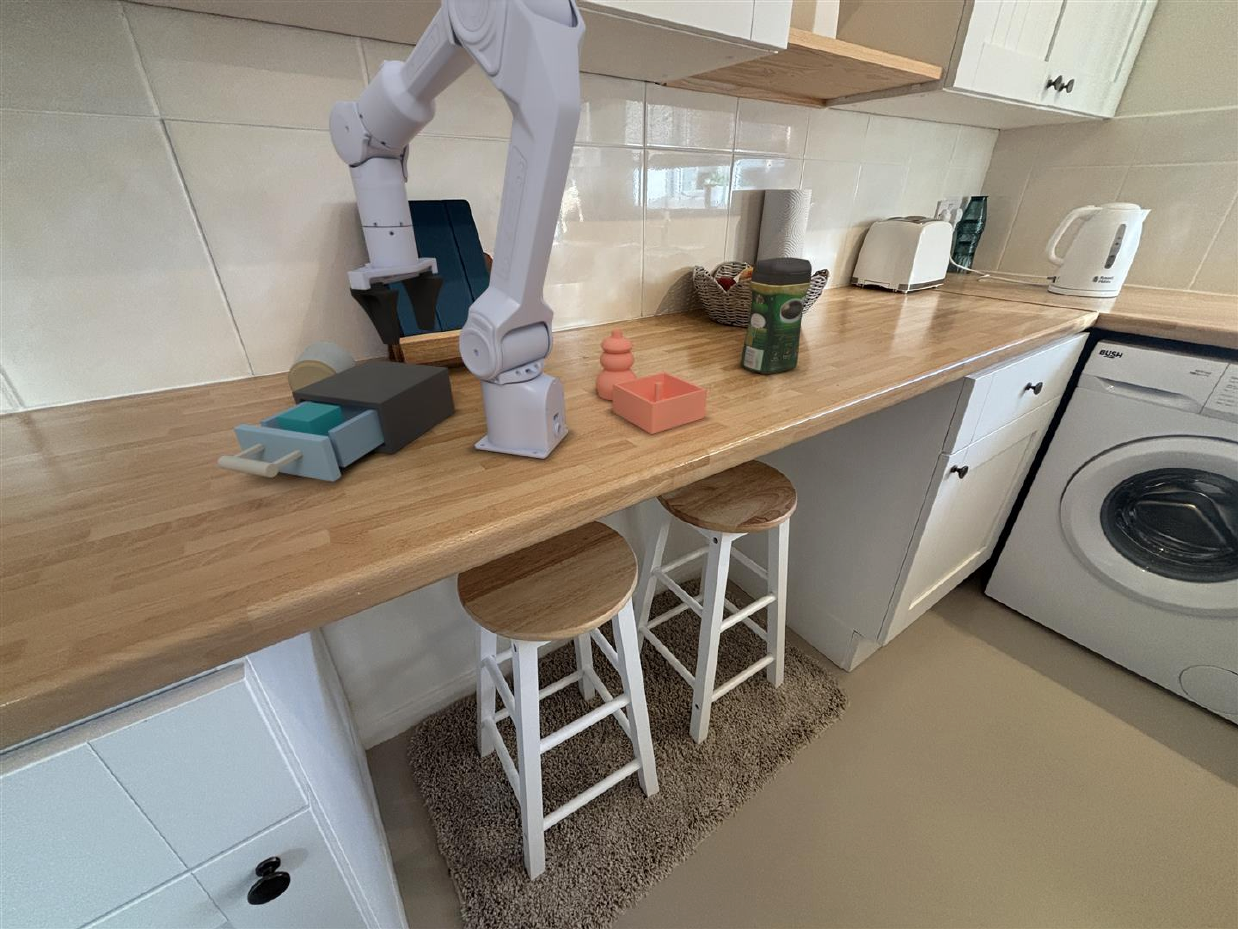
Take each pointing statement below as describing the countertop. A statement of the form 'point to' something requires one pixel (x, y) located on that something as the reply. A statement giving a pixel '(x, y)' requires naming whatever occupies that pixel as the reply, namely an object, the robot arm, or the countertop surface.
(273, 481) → the countertop surface
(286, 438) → the drawer
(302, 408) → the teal toy cube
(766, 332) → the coffee jar
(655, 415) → the pink peg stacking toy
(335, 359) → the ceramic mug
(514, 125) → the robot arm
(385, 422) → the dark grey drawer cabinet
